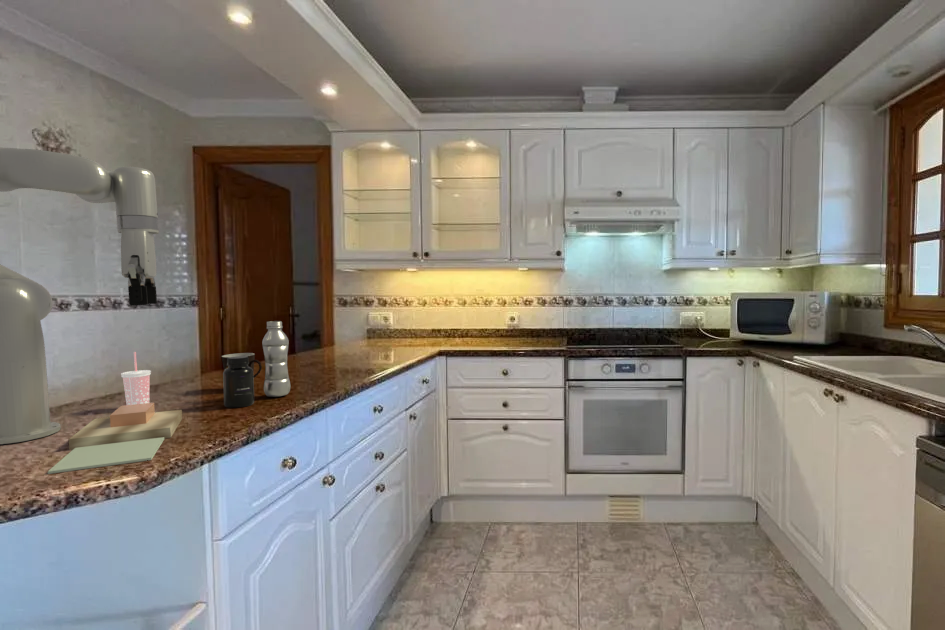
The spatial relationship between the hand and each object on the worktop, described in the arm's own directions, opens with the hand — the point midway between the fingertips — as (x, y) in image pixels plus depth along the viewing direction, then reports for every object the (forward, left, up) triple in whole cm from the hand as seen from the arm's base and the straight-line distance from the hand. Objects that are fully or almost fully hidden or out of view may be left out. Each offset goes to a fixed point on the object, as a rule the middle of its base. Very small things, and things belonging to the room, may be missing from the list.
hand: (144, 304), depth 110 cm
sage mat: (-2, -25, -26) cm, 36 cm away
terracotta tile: (-2, -8, -24) cm, 25 cm away
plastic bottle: (+27, +12, -26) cm, 39 cm away
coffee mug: (+18, +26, -26) cm, 41 cm away
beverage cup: (-5, +15, -26) cm, 31 cm away
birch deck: (-2, -10, -26) cm, 28 cm away
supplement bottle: (+18, +6, -26) cm, 32 cm away
